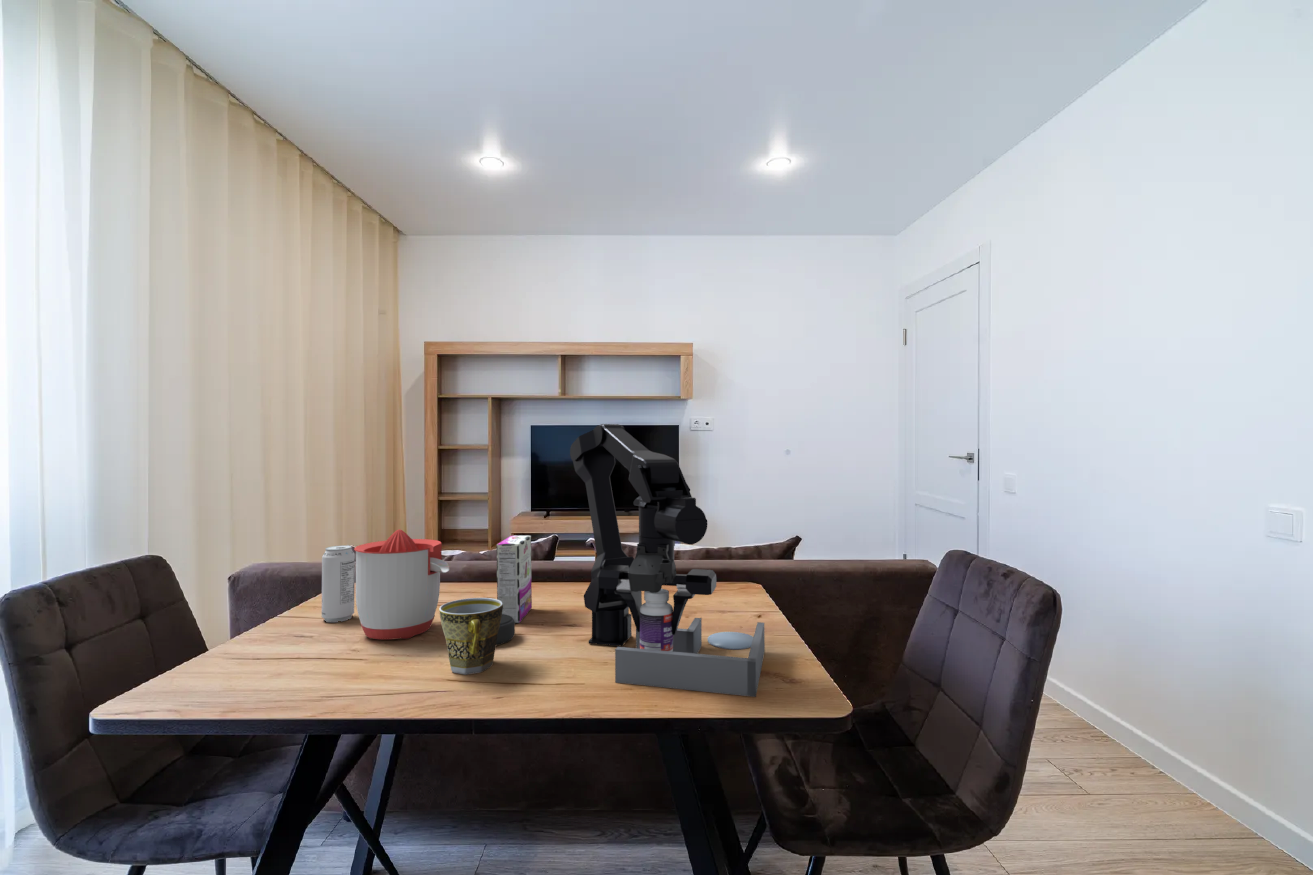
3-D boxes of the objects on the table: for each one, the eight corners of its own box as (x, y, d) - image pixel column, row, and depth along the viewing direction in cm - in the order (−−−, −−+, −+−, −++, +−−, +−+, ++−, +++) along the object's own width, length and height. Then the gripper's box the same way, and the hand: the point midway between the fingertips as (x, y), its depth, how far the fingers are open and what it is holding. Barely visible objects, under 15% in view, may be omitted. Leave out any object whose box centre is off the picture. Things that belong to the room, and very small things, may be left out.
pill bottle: (670, 658, 90) (669, 595, 90) (636, 656, 91) (636, 594, 91) (675, 647, 95) (675, 587, 95) (644, 644, 96) (643, 586, 96)
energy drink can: (334, 614, 125) (335, 544, 125) (360, 615, 124) (361, 545, 124) (314, 622, 119) (315, 549, 119) (341, 623, 118) (342, 550, 118)
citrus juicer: (430, 645, 105) (431, 535, 105) (335, 645, 105) (336, 535, 105) (461, 620, 120) (461, 524, 121) (379, 619, 121) (379, 523, 121)
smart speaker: (475, 632, 113) (475, 612, 113) (520, 633, 112) (520, 612, 112) (457, 648, 104) (458, 626, 104) (506, 648, 103) (506, 626, 103)
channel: (615, 682, 88) (615, 649, 88) (648, 641, 107) (648, 614, 107) (755, 696, 83) (755, 661, 83) (764, 651, 101) (764, 622, 101)
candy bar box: (509, 608, 129) (510, 535, 129) (532, 608, 129) (532, 535, 129) (495, 623, 118) (495, 543, 118) (519, 623, 118) (519, 543, 118)
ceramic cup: (437, 660, 97) (437, 601, 97) (498, 652, 101) (498, 595, 101) (441, 690, 85) (441, 622, 85) (510, 679, 89) (510, 614, 89)
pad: (703, 647, 103) (703, 645, 103) (711, 631, 112) (711, 630, 112) (754, 651, 101) (754, 649, 101) (758, 635, 110) (758, 633, 110)
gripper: (583, 541, 88) (583, 644, 87) (705, 546, 83) (705, 655, 83) (608, 530, 99) (608, 622, 98) (716, 534, 94) (717, 631, 94)
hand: (656, 632), depth 93 cm, fingers closed on pill bottle, 5 cm apart
